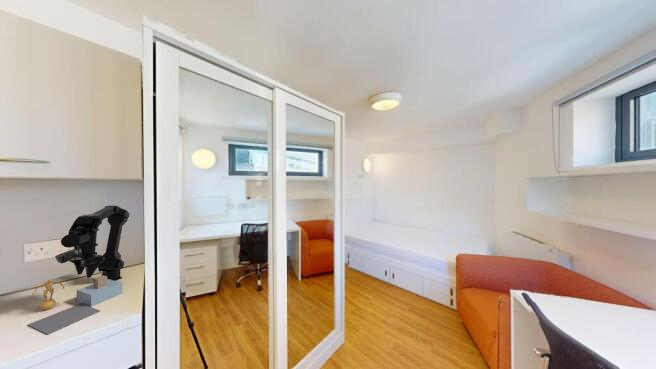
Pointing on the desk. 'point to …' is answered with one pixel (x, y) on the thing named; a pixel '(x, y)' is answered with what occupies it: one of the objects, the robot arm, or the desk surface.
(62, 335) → the desk surface
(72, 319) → the mat
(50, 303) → the figurine
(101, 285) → the cover
